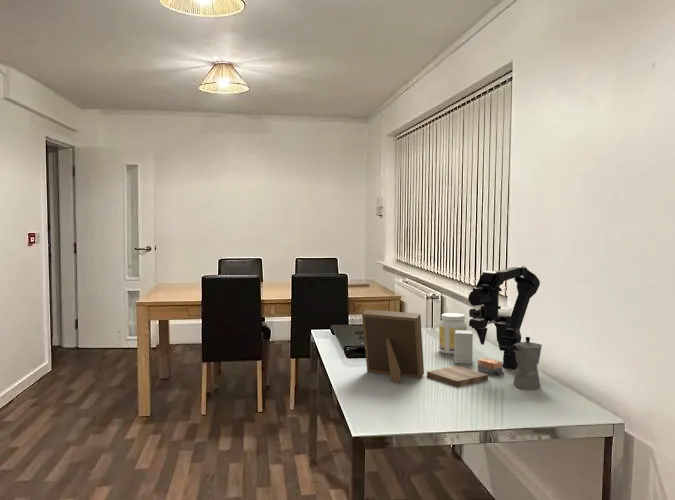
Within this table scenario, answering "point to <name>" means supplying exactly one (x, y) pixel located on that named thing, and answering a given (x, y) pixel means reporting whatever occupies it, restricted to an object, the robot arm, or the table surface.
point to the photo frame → (393, 343)
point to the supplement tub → (450, 331)
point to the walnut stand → (457, 376)
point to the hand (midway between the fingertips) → (490, 343)
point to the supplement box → (463, 346)
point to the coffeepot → (526, 364)
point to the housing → (490, 366)
